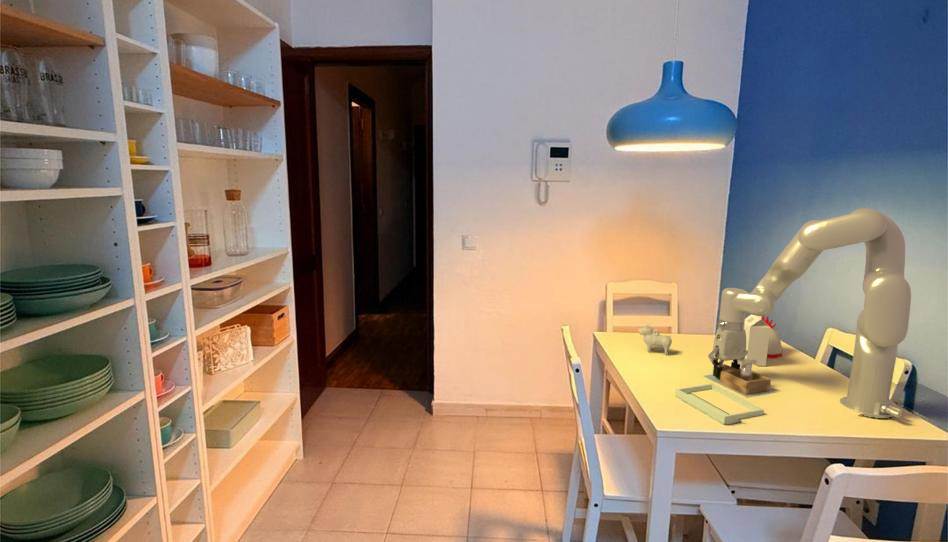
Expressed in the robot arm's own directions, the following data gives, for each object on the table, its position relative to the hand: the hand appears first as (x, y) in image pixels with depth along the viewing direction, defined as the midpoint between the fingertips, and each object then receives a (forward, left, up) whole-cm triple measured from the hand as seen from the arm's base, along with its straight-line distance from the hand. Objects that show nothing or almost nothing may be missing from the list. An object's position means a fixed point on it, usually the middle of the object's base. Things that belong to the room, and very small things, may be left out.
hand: (726, 375), depth 164 cm
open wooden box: (-5, 0, -1) cm, 5 cm away
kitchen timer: (+18, -37, -2) cm, 41 cm away
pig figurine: (+31, +4, -2) cm, 32 cm away
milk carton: (+10, -23, -2) cm, 25 cm away
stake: (-8, 0, -1) cm, 8 cm away
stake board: (-5, 0, -2) cm, 5 cm away
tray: (-15, +18, -2) cm, 23 cm away
